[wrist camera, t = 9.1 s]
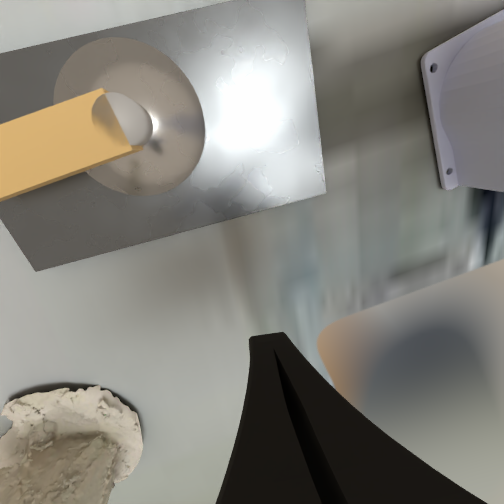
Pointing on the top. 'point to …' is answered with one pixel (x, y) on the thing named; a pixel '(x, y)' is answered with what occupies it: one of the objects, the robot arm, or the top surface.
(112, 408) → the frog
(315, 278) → the top surface
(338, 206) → the top surface
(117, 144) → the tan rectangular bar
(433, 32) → the top surface
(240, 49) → the silver metal slab
